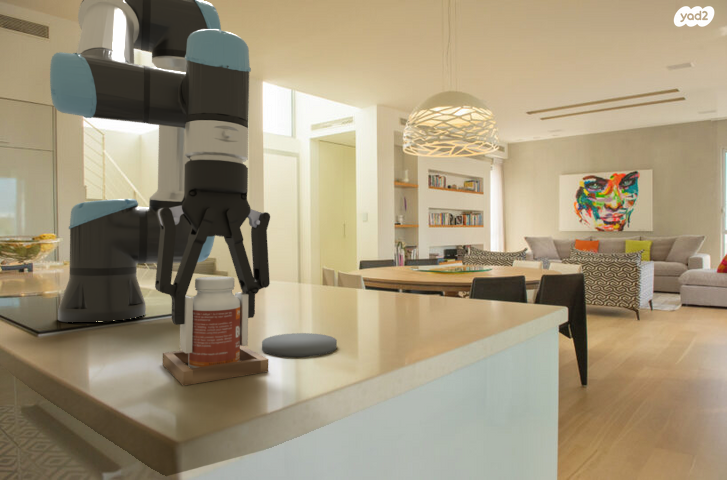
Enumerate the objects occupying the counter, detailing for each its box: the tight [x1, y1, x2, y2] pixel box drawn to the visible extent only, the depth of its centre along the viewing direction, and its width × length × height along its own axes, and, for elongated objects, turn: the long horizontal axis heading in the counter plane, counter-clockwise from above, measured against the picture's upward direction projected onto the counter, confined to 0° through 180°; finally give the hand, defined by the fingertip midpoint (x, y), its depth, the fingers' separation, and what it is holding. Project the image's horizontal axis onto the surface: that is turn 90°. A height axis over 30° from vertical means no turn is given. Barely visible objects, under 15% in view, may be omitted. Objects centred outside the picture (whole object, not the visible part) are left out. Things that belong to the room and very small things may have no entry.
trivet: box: [261, 332, 338, 358], centre depth 69 cm, size 11×11×1 cm
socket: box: [162, 345, 269, 387], centre depth 58 cm, size 10×10×2 cm
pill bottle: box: [187, 276, 241, 368], centre depth 58 cm, size 6×6×11 cm
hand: (214, 346), depth 58 cm, fingers closed on pill bottle, 6 cm apart
